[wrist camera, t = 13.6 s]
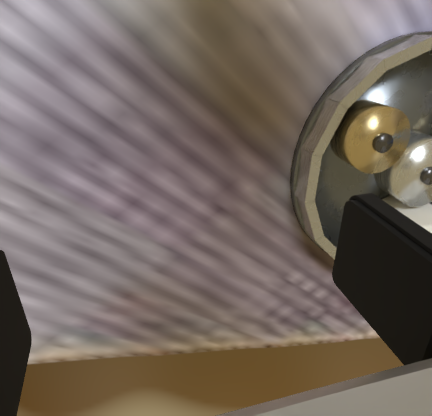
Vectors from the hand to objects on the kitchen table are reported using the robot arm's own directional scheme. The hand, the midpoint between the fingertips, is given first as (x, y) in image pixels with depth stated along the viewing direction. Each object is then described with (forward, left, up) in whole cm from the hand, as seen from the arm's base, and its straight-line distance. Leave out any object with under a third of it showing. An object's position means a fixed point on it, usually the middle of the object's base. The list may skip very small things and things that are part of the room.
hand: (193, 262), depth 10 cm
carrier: (+9, +32, -28) cm, 43 cm away
